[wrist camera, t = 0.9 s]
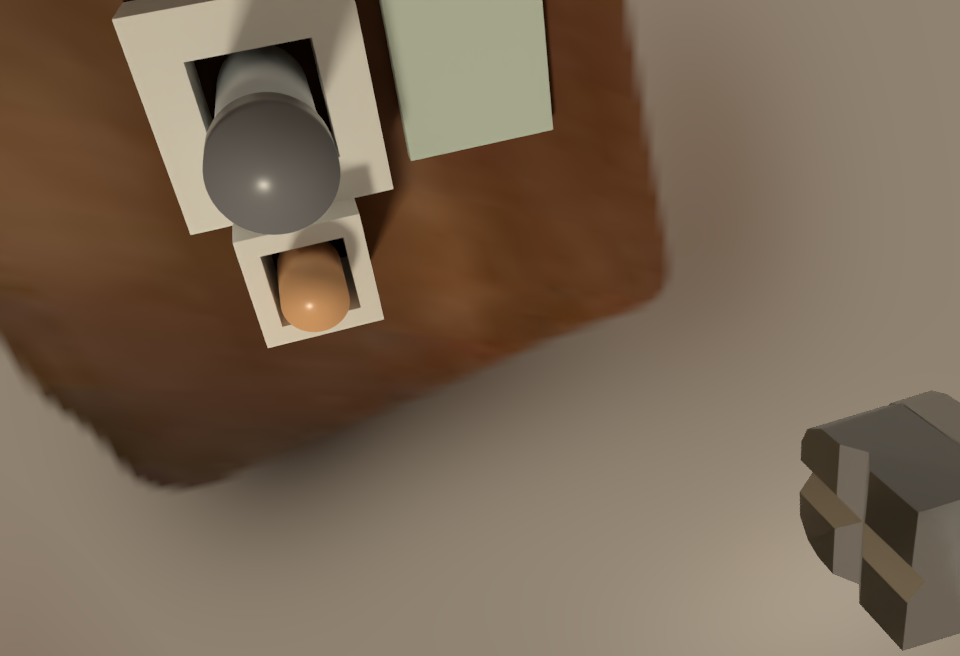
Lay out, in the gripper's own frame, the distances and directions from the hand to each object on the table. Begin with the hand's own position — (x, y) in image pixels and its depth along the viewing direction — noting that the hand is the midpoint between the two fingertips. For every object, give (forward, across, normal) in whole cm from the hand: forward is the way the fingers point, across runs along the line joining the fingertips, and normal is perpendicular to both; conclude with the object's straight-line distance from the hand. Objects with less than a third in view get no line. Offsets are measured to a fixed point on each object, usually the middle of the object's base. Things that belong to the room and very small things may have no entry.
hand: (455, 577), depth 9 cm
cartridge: (+36, +2, 0) cm, 36 cm away
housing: (+37, +2, +3) cm, 37 cm away
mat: (+36, -8, -1) cm, 37 cm away
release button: (+33, +2, +8) cm, 34 cm away
